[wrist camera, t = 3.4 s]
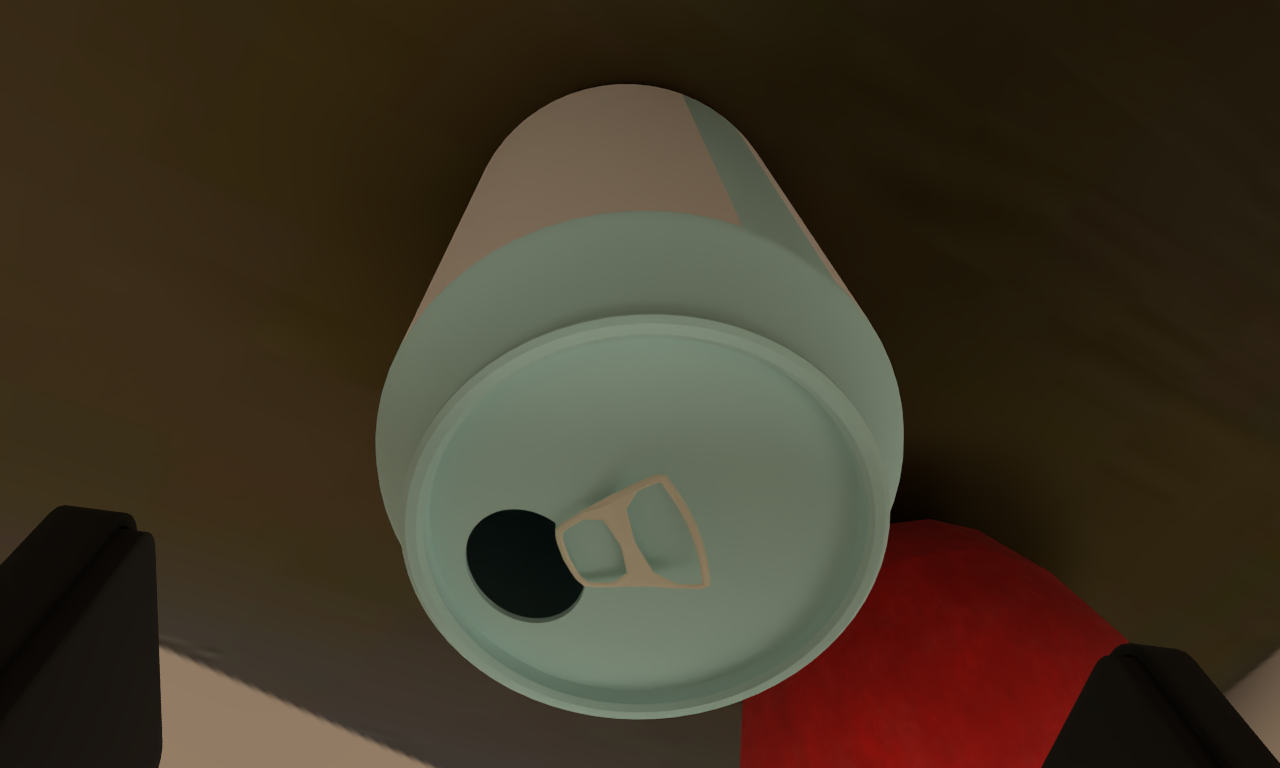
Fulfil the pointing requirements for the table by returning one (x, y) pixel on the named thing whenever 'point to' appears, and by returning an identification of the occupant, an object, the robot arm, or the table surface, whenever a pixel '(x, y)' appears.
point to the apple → (937, 665)
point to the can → (638, 419)
